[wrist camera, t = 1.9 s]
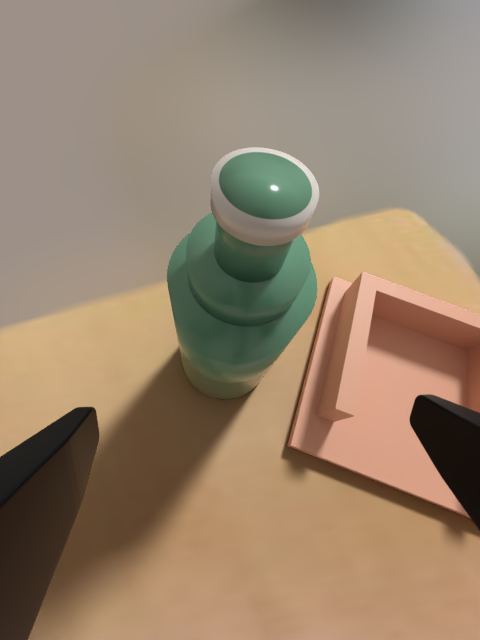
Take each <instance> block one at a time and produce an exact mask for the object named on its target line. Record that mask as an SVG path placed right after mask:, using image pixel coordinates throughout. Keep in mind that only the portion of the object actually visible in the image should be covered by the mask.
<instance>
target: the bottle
mask: <svg viewBox="0 0 480 640" xmlns="http://www.w3.org/2000/svg"><path fill="white" fill-rule="evenodd" d="M318 199H319V188H318V184H317V182H316V179H315V178H314V176H313V174H312V173H311V172H310V171H309V169H308V168H307V167H305V165H303V164H302V163H301V162H300V161H298V160H297V159H295V158H293V157H292V156H290V155H287V154H285V153H283V152H280V151H276V150H273V149H267V148H244V149H239V150H236V151H233V152H231V153H229V154H227V155H226V156H224V157H223V158H221V159H220V160H219V162H218V163H217V164H216V166H215V167H214V169H213V172H212V177H211V211H212V213H211V214H209V215H207V216H206V217H204V218H203V219H202V220H200V221H199V222H198V223H197V224H196V226H195V227H194V228H193V230H192V232H191V233H190V234H188V235H187V236H186V237H185V238H184V239H183V240H182V241H181V242H180V243H179V245H178V246H177V247H176V249H175V250H174V252H173V254H172V256H171V259H170V261H169V266H168V272H167V282H168V289H169V295H170V300H171V305H172V311H173V316H174V321H175V327H176V332H177V337H178V343H179V348H180V353H181V359H182V364H183V368H184V371H185V374H186V376H187V378H188V380H189V381H190V382H191V384H192V385H193V386H194V387H195V388H196V389H198V390H199V391H200V392H202V393H203V394H205V395H207V396H210V397H213V398H217V399H233V398H237V397H240V396H243V395H245V394H247V393H248V392H250V391H251V390H252V389H254V388H255V387H256V386H257V384H258V383H259V382H260V381H261V379H262V378H263V377H264V375H265V374H266V373H267V371H268V370H269V369H270V368H271V366H272V365H273V364H274V362H275V361H276V360H277V358H278V357H279V356H280V354H281V353H282V352H283V350H284V349H285V348H286V346H287V345H288V344H289V342H290V341H291V340H292V339H293V337H294V336H295V335H296V333H297V332H298V331H299V329H300V328H301V327H302V325H303V324H304V323H305V321H306V320H307V318H308V317H309V315H310V314H311V312H312V310H313V307H314V305H315V301H316V297H317V279H316V274H315V271H314V268H313V265H312V263H311V258H310V252H309V249H308V246H307V244H306V242H305V240H304V238H303V237H302V235H301V234H302V233H303V231H304V230H305V229H306V227H307V225H308V223H309V220H310V218H311V216H312V214H313V212H314V209H315V207H316V205H317V202H318Z"/></svg>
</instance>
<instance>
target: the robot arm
mask: <svg viewBox="0 0 480 640" xmlns="http://www.w3.org/2000/svg"><path fill="white" fill-rule="evenodd" d="M410 425H411V427H412V429H413V430H414V432H415V434H416V436H417V437H418V439H419V441H420V442H421V444H422V446H423V447H424V449H425V451H426V452H427V454H428V456H429V457H430V459H431V461H432V463H433V464H434V466H435V468H436V469H437V471H438V472H439V474H440V476H441V477H442V479H443V480H444V481H445V483H446V484H447V486H448V487H449V489H450V490H451V491H452V493H453V494H454V496H455V497H456V499H457V500H458V501H459V503H460V504H461V506H462V507H463V508H464V510H465V511H466V513H467V514H468V515H469V517H470V518H471V520H472V521H473V522H474V524H475V525H476V527H477V528H478V530H479V531H480V413H479V412H476V411H474V410H471V409H469V408H466V407H464V406H461V405H458V404H456V403H453V402H451V401H448V400H446V399H443V398H440V397H438V396H435V395H432V394H425V395H418V396H417V397H416V398H415V401H414V404H413V407H412V411H411V414H410ZM98 442H99V428H98V421H97V415H96V410H95V408H93V407H77V408H75V409H73V410H72V411H70V412H69V413H67V414H66V415H64V416H63V417H61V418H60V419H58V420H56V421H55V422H53V423H52V424H50V425H49V426H47V427H46V428H44V429H43V430H41V431H40V432H38V433H36V434H35V435H33V436H32V437H30V438H29V439H27V440H26V441H24V442H23V443H21V444H19V445H18V446H16V447H15V448H13V449H12V450H10V451H9V452H7V453H6V454H4V455H3V456H1V457H0V640H28V638H29V635H30V633H31V630H32V628H33V625H34V623H35V620H36V617H37V615H38V612H39V610H40V607H41V605H42V602H43V600H44V597H45V595H46V592H47V590H48V587H49V584H50V582H51V579H52V577H53V574H54V572H55V569H56V567H57V564H58V562H59V559H60V557H61V554H62V552H63V549H64V546H65V544H66V541H67V539H68V536H69V534H70V531H71V529H72V526H73V524H74V521H75V519H76V516H77V513H78V511H79V508H80V505H81V502H82V499H83V496H84V492H85V489H86V485H87V482H88V478H89V474H90V471H91V467H92V464H93V460H94V456H95V453H96V449H97V446H98Z"/></svg>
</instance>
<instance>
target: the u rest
mask: <svg viewBox="0 0 480 640" xmlns="http://www.w3.org/2000/svg"><path fill="white" fill-rule="evenodd" d="M425 394H432V395H435V396H438V397H440V398H443V399H446V400H448V401H451V402H453V403H456V404H458V405H461V406H464V407H466V408H469V409H471V410H474V411H476V412H479V413H480V314H478V313H475V312H472V311H469V310H467V309H464V308H461V307H459V306H456V305H453V304H450V303H448V302H445V301H442V300H439V299H437V298H434V297H431V296H428V295H426V294H423V293H420V292H417V291H415V290H412V289H409V288H406V287H404V286H401V285H398V284H395V283H393V282H390V281H387V280H384V279H382V278H379V277H376V276H374V275H371V274H368V273H365V272H362V273H361V274H360V275H359V277H358V278H357V279H356V280H355V281H354V282H353V283H351V282H348V281H345V280H343V279H340V278H337V277H335V276H334V277H333V278H332V279H331V281H330V284H329V288H328V291H327V295H326V299H325V303H324V307H323V311H322V315H321V318H320V322H319V326H318V330H317V334H316V338H315V341H314V345H313V349H312V353H311V357H310V361H309V365H308V368H307V372H306V376H305V380H304V384H303V388H302V392H301V395H300V399H299V403H298V407H297V411H296V415H295V419H294V422H293V426H292V430H291V434H290V438H289V442H288V446H289V447H292V448H294V449H297V450H299V451H302V452H304V453H307V454H309V455H312V456H314V457H317V458H319V459H322V460H324V461H327V462H329V463H332V464H334V465H337V466H340V467H342V468H345V469H347V470H350V471H352V472H355V473H357V474H360V475H362V476H365V477H367V478H370V479H372V480H375V481H377V482H380V483H382V484H385V485H388V486H390V487H393V488H395V489H398V490H400V491H403V492H405V493H408V494H410V495H413V496H415V497H418V498H420V499H423V500H425V501H428V502H430V503H433V504H435V505H438V506H441V507H443V508H446V509H448V510H451V511H453V512H456V513H458V514H461V515H463V516H466V517H468V518H470V517H469V515H468V514H467V513H466V511H465V510H464V508H463V507H462V506H461V504H460V503H459V501H458V500H457V499H456V497H455V496H454V494H453V493H452V491H451V490H450V489H449V487H448V486H447V484H446V483H445V481H444V480H443V479H442V477H441V476H440V474H439V472H438V471H437V469H436V468H435V466H434V464H433V463H432V461H431V459H430V457H429V456H428V454H427V452H426V451H425V449H424V447H423V446H422V444H421V442H420V441H419V439H418V437H417V436H416V434H415V432H414V430H413V429H412V427H411V425H410V414H411V411H412V407H413V404H414V401H415V398H416V397H417V396H418V395H425Z"/></svg>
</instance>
